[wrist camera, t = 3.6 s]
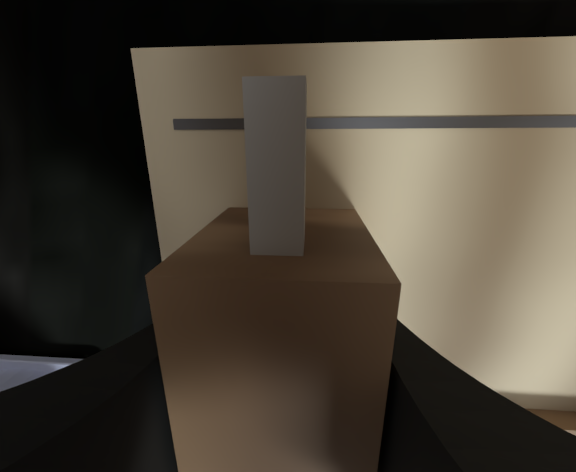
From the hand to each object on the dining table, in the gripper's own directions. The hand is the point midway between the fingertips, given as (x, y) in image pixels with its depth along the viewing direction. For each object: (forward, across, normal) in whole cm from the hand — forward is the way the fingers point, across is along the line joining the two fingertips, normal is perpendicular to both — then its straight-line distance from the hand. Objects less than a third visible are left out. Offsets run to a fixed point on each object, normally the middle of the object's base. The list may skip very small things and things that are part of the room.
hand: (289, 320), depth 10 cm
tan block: (+1, 0, -2) cm, 2 cm away
